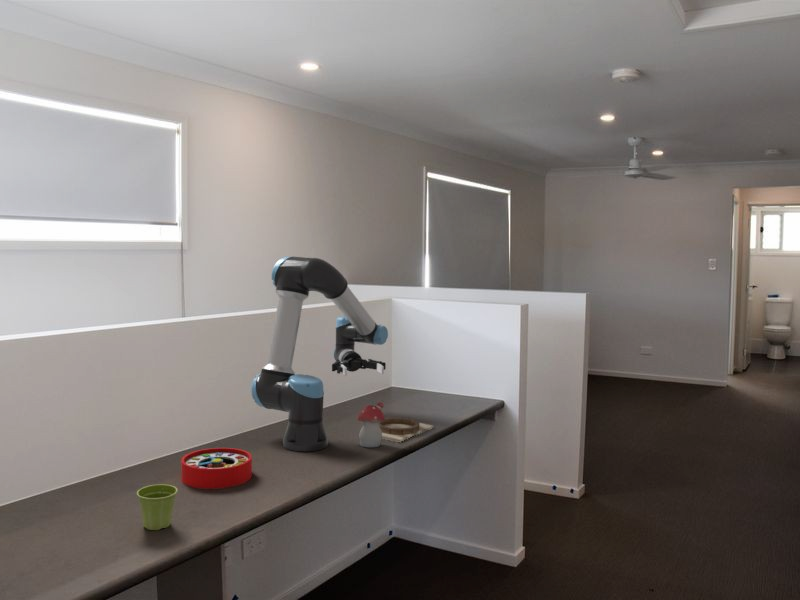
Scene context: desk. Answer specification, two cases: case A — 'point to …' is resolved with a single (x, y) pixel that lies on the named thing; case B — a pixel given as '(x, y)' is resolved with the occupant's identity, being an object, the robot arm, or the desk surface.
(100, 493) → the desk surface
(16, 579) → the desk surface
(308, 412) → the robot arm
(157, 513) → the plant pot
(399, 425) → the collar board
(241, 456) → the toy clock
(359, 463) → the desk surface
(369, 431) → the decorative ornament
